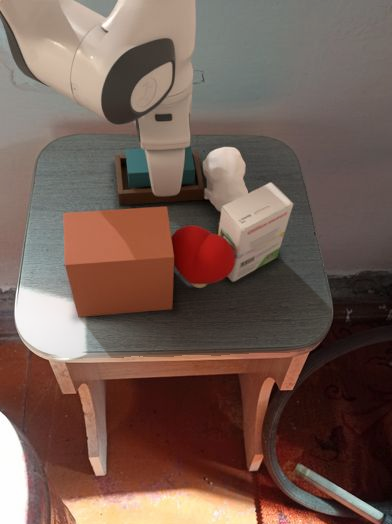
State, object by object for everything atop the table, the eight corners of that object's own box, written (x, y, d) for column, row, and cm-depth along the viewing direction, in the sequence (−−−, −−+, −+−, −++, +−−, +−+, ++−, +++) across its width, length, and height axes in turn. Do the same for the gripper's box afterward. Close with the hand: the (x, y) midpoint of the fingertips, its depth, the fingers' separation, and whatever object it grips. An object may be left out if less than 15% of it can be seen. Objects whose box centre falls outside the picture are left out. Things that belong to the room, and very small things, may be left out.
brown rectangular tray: (119, 205, 87) (118, 194, 84) (115, 166, 90) (114, 154, 88) (203, 199, 88) (204, 188, 86) (196, 161, 92) (197, 150, 89)
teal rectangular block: (129, 187, 86) (128, 173, 83) (126, 163, 88) (125, 149, 85) (194, 184, 87) (195, 169, 84) (190, 160, 89) (190, 145, 86)
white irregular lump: (244, 137, 82) (265, 204, 78) (235, 176, 90) (255, 238, 86) (202, 142, 81) (221, 211, 77) (197, 181, 89) (215, 245, 85)
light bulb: (238, 279, 81) (247, 235, 72) (216, 315, 78) (223, 273, 69) (182, 253, 83) (184, 206, 74) (158, 287, 80) (157, 243, 71)
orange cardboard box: (78, 317, 77) (64, 265, 66) (76, 269, 81) (63, 212, 70) (172, 309, 78) (174, 257, 68) (166, 262, 82) (167, 206, 71)
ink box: (258, 235, 85) (271, 179, 75) (278, 258, 84) (295, 203, 73) (212, 260, 83) (220, 204, 72) (232, 283, 81) (243, 230, 70)
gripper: (129, 44, 79) (133, 124, 91) (141, 149, 70) (144, 223, 82) (174, 43, 80) (172, 122, 92) (192, 147, 70) (187, 220, 83)
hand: (159, 171), depth 87 cm, fingers closed on teal rectangular block, 5 cm apart
